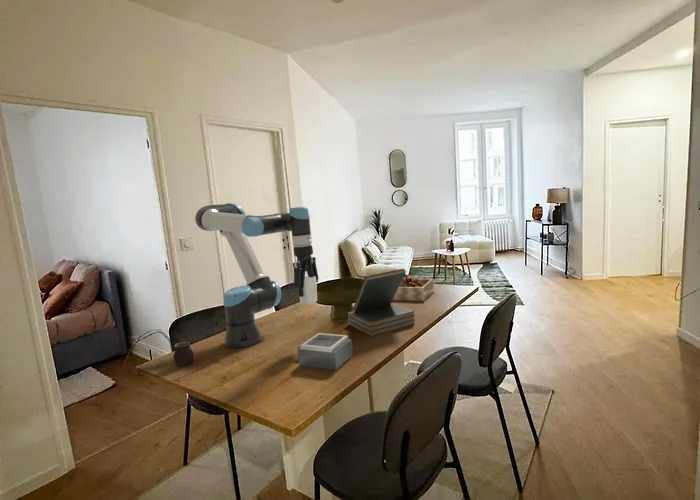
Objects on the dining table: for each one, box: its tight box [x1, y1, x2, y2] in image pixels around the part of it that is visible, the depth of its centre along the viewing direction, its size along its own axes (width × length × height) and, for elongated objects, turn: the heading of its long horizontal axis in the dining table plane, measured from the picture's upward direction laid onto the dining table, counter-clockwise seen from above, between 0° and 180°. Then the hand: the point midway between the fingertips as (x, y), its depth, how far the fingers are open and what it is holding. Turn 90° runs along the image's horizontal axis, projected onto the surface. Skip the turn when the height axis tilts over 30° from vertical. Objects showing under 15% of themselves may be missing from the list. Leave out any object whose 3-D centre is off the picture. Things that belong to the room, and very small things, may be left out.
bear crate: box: [392, 278, 435, 302], centre depth 221 cm, size 21×21×7 cm
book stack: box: [347, 268, 416, 337], centre depth 175 cm, size 23×20×25 cm
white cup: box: [298, 275, 318, 305], centre depth 160 cm, size 8×8×10 cm
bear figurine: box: [404, 272, 421, 287], centre depth 221 cm, size 14×15×12 cm
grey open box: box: [297, 332, 354, 371], centre depth 143 cm, size 19×13×8 cm
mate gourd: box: [173, 339, 195, 367], centre depth 151 cm, size 7×8×10 cm
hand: (308, 301), depth 160 cm, fingers closed on white cup, 7 cm apart
